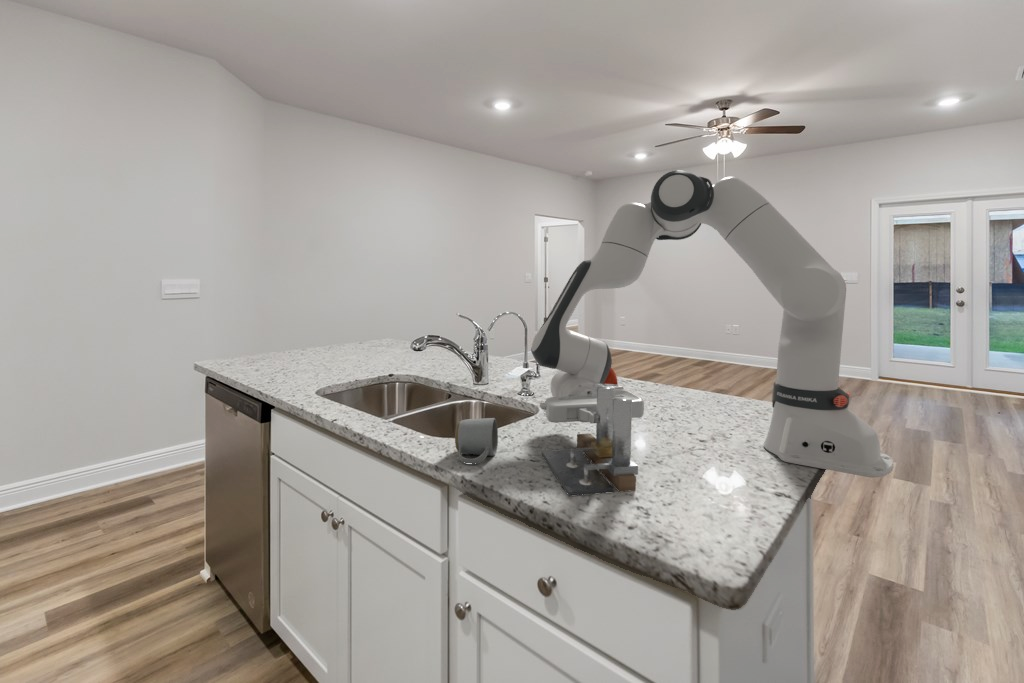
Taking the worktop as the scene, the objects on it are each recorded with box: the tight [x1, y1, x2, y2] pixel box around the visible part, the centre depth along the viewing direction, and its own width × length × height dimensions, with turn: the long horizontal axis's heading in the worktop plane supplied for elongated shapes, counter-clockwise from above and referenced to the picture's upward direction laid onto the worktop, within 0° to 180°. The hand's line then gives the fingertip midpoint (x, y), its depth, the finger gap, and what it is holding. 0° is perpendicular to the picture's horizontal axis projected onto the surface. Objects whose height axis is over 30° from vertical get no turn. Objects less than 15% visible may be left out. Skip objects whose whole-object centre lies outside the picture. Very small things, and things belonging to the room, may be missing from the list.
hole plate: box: [540, 448, 615, 497], centre depth 94 cm, size 20×8×1 cm, turn 10°
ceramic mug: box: [454, 417, 499, 465], centre depth 102 cm, size 11×8×8 cm
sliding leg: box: [570, 386, 615, 464], centre depth 95 cm, size 4×9×14 cm, turn 100°
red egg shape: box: [603, 367, 619, 385], centre depth 149 cm, size 8×8×11 cm
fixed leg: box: [584, 397, 639, 481], centre depth 87 cm, size 4×9×14 cm, turn 100°
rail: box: [576, 433, 637, 492], centre depth 97 cm, size 24×3×2 cm, turn 10°
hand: (607, 418), depth 94 cm, fingers closed on sliding leg, 3 cm apart
